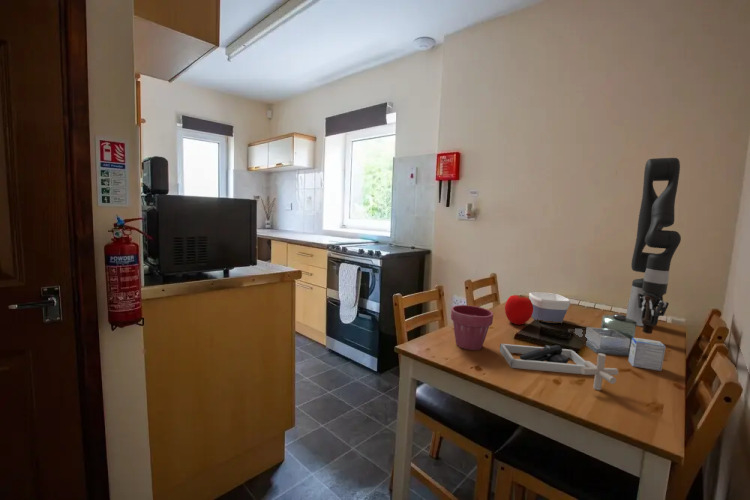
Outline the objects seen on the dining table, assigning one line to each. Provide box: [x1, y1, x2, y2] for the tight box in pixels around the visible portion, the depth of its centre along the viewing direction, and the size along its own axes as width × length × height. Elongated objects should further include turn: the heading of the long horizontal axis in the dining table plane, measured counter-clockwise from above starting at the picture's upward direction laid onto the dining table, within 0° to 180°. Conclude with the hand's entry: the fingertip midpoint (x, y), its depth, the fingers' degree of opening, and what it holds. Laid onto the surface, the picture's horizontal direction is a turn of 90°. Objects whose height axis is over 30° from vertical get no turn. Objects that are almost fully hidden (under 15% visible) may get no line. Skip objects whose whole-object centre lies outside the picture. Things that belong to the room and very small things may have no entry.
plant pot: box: [450, 304, 494, 351], centre depth 123 cm, size 14×14×13 cm
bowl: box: [528, 291, 571, 324], centre depth 158 cm, size 15×15×11 cm
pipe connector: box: [580, 353, 619, 391], centre depth 97 cm, size 10×10×10 cm
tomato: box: [504, 294, 533, 326], centre depth 150 cm, size 11×11×13 cm
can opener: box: [519, 344, 570, 364], centre depth 112 cm, size 18×7×6 cm, turn 109°
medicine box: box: [628, 337, 666, 372], centre depth 114 cm, size 8×4×9 cm, turn 71°
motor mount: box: [574, 313, 637, 357], centre depth 133 cm, size 22×22×10 cm
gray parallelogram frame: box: [499, 343, 589, 376], centre depth 113 cm, size 13×24×2 cm, turn 85°
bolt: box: [642, 295, 657, 335], centre depth 139 cm, size 6×5×15 cm
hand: (648, 322), depth 139 cm, fingers closed on bolt, 4 cm apart
